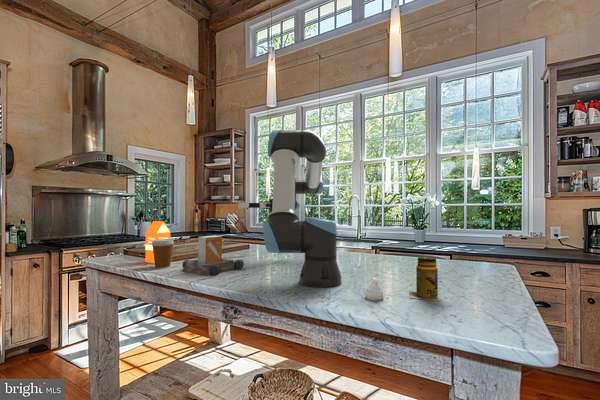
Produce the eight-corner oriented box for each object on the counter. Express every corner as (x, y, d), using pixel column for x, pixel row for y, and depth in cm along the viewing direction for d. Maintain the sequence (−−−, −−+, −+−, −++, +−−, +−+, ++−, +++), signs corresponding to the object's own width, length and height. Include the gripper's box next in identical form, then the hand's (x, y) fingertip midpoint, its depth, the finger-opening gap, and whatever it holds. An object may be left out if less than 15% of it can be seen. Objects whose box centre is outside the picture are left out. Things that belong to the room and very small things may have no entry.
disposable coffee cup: (168, 268, 135) (168, 241, 136) (146, 268, 135) (147, 241, 136) (177, 264, 145) (177, 239, 145) (157, 264, 145) (157, 239, 145)
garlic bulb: (385, 280, 90) (367, 280, 90) (385, 300, 90) (367, 301, 90) (379, 276, 96) (362, 276, 95) (379, 295, 95) (362, 295, 95)
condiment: (440, 301, 89) (440, 260, 90) (409, 298, 92) (409, 258, 92) (437, 294, 96) (437, 256, 97) (408, 292, 99) (408, 254, 99)
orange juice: (156, 263, 147) (156, 221, 148) (145, 261, 152) (145, 221, 152) (170, 261, 154) (170, 221, 154) (159, 259, 159) (159, 220, 159)
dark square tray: (245, 268, 136) (245, 259, 136) (211, 276, 120) (211, 266, 121) (215, 263, 147) (215, 255, 148) (180, 270, 132) (180, 260, 132)
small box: (205, 269, 127) (205, 237, 128) (197, 266, 132) (197, 236, 132) (222, 266, 133) (222, 236, 133) (214, 264, 138) (214, 235, 138)
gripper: (297, 212, 152) (270, 213, 134) (259, 212, 166) (230, 213, 148) (297, 197, 152) (270, 196, 134) (259, 198, 166) (230, 197, 148)
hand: (249, 205), depth 141 cm, fingers open, 13 cm apart
